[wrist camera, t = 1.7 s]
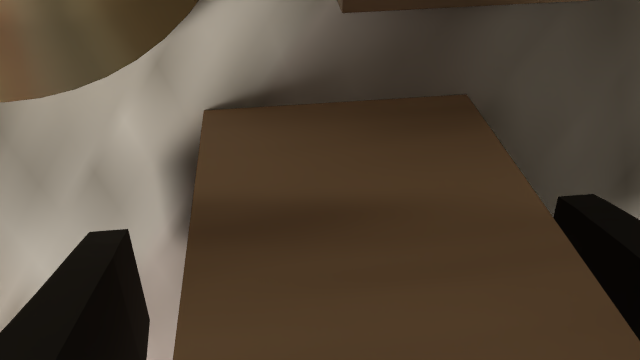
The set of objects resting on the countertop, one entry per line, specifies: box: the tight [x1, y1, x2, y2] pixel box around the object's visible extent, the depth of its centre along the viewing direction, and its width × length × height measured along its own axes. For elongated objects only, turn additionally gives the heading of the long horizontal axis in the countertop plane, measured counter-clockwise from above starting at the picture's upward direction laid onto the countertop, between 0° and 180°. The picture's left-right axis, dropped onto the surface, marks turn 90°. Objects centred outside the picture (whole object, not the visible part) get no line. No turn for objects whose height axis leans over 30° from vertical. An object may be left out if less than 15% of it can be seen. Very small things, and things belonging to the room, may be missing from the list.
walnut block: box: [173, 94, 640, 360], centre depth 9 cm, size 4×4×6 cm
